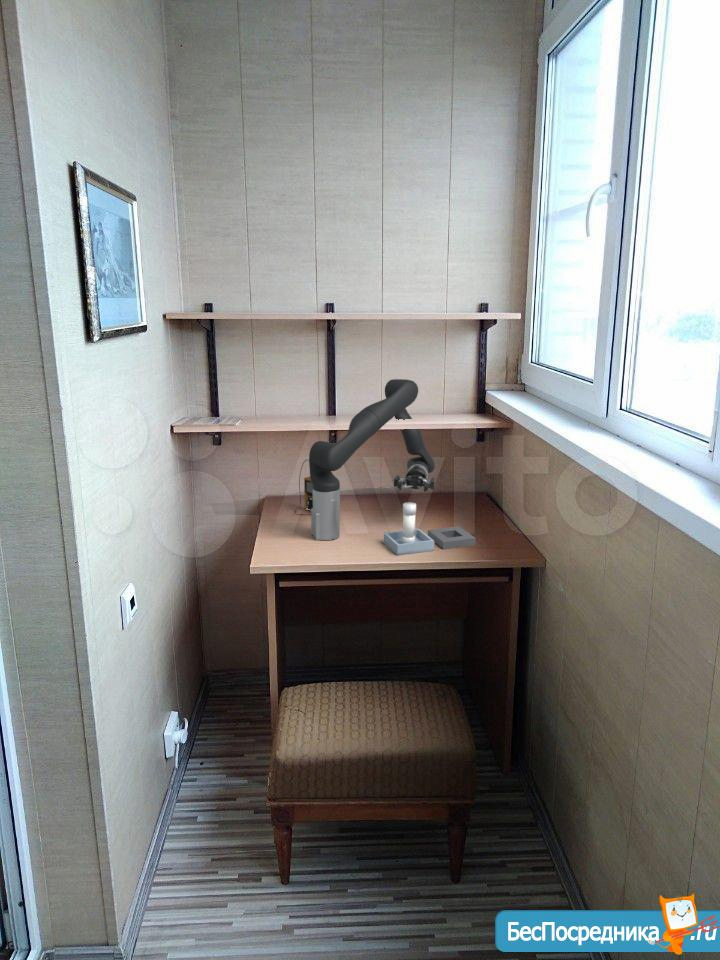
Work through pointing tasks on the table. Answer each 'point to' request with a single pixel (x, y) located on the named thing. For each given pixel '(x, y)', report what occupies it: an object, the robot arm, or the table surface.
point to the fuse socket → (457, 537)
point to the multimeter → (307, 492)
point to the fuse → (408, 522)
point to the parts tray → (420, 544)
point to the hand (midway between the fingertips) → (412, 488)
